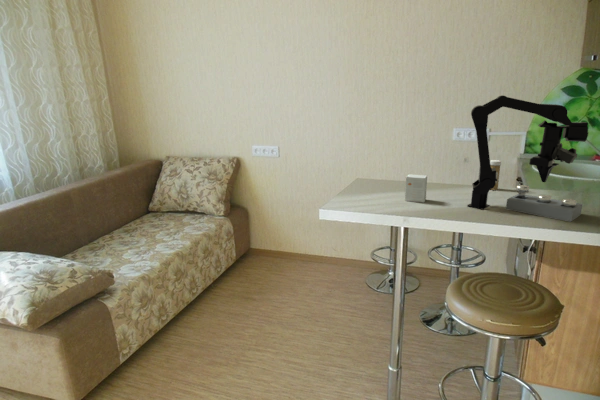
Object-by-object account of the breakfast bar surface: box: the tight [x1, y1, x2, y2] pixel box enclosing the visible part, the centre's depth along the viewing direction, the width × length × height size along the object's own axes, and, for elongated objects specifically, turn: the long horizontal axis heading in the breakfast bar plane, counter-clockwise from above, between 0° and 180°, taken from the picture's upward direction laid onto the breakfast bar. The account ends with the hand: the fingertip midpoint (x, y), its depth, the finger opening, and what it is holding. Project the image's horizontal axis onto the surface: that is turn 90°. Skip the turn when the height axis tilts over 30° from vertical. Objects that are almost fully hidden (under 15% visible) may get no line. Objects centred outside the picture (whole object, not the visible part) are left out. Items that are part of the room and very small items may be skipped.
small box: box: [404, 173, 428, 203], centre depth 171 cm, size 8×6×10 cm
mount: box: [505, 193, 583, 222], centre depth 154 cm, size 12×22×4 cm, turn 43°
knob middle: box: [537, 194, 552, 203], centre depth 153 cm, size 4×4×5 cm
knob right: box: [561, 198, 577, 208], centre depth 147 cm, size 4×4×5 cm
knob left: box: [515, 184, 530, 199], centre depth 158 cm, size 4×4×5 cm
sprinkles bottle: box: [489, 159, 502, 191], centre depth 187 cm, size 5×5×13 cm
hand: (543, 182), depth 152 cm, fingers closed
